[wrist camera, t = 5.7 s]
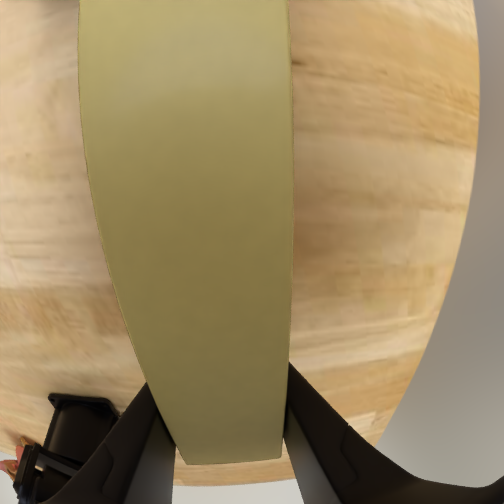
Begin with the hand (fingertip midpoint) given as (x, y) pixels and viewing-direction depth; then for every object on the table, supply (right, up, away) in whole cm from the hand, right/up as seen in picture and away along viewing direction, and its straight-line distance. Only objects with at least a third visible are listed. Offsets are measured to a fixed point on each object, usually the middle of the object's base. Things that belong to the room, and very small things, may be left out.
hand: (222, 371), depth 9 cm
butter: (0, +5, -1) cm, 5 cm away
